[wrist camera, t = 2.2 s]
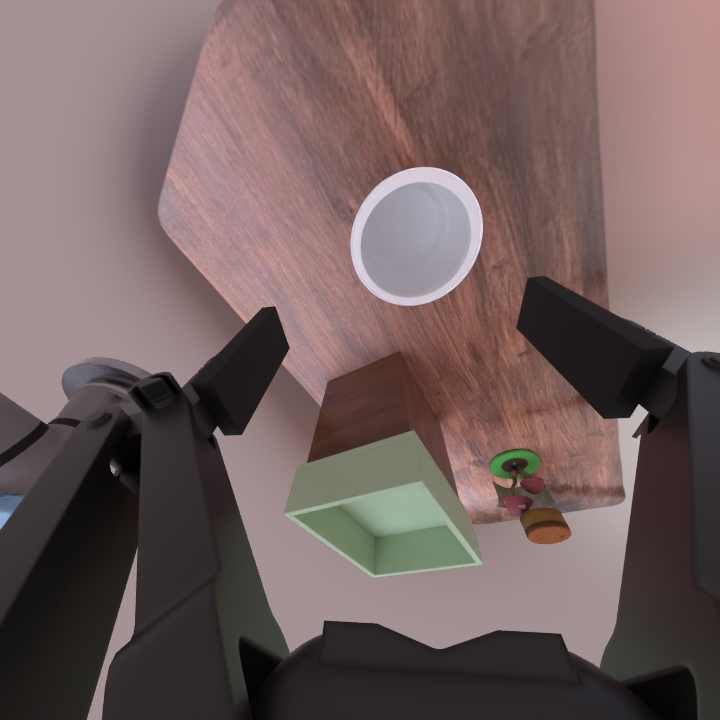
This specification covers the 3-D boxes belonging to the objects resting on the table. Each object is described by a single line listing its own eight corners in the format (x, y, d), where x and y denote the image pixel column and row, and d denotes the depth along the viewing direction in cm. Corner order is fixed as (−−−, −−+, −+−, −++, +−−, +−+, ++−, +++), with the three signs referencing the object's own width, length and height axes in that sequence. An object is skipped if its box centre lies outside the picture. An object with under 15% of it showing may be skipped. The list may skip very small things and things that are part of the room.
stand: (439, 423, 53) (463, 514, 38) (375, 442, 58) (375, 530, 43) (399, 351, 44) (410, 435, 29) (327, 382, 49) (305, 467, 34)
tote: (470, 515, 38) (483, 564, 34) (373, 533, 44) (372, 577, 39) (414, 429, 28) (421, 480, 23) (297, 466, 34) (283, 514, 29)
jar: (433, 157, 29) (475, 136, 17) (449, 249, 34) (489, 284, 22) (347, 196, 32) (328, 203, 19) (374, 275, 37) (373, 321, 24)
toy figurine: (479, 454, 58) (507, 526, 46) (540, 443, 55) (587, 517, 43) (486, 481, 64) (512, 552, 52) (541, 473, 61) (583, 546, 48)
